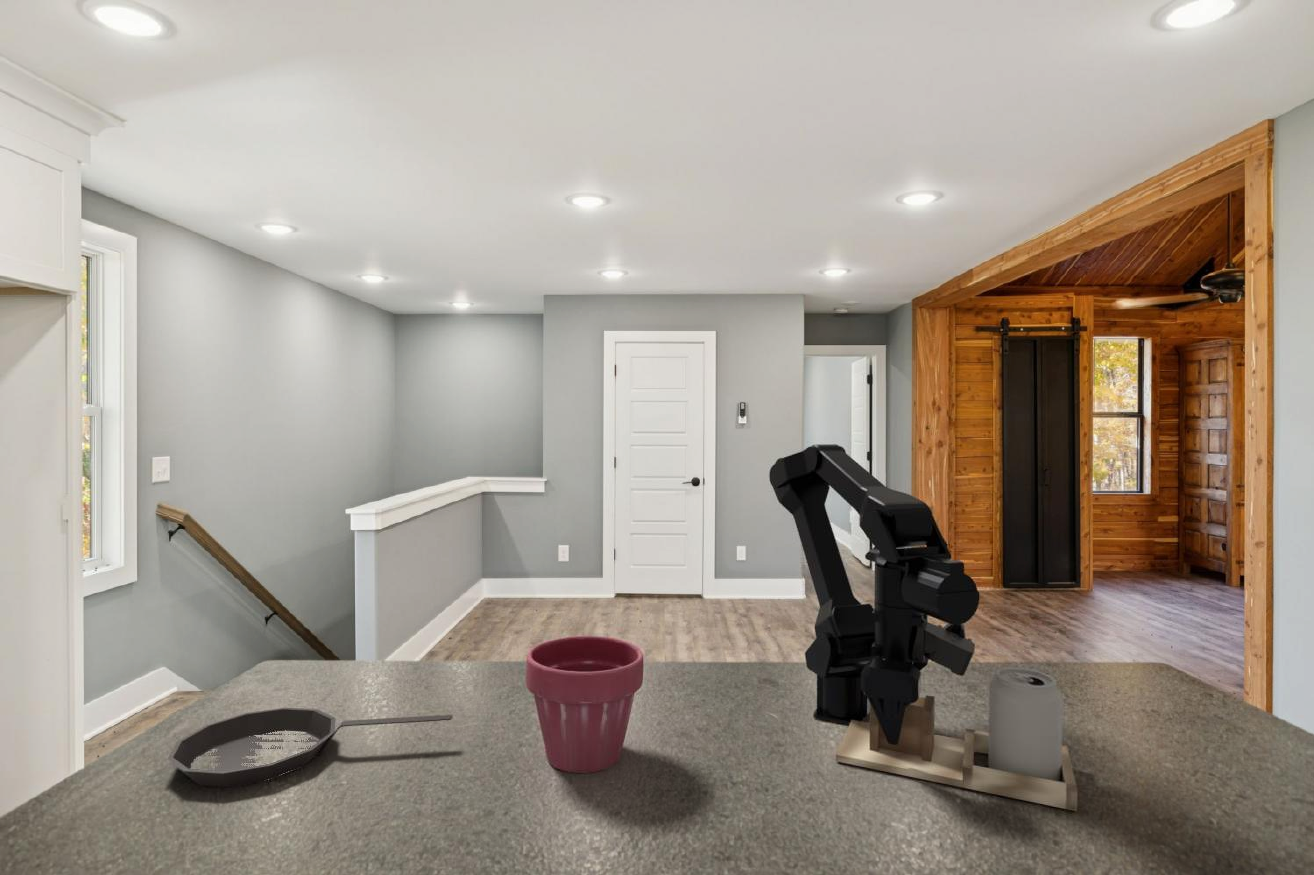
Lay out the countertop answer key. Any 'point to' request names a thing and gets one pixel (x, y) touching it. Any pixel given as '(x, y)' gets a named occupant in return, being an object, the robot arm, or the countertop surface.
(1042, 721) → the can
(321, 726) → the frying pan
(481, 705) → the countertop surface
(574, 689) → the plant pot
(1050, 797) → the wooden divided tray
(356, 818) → the countertop surface
